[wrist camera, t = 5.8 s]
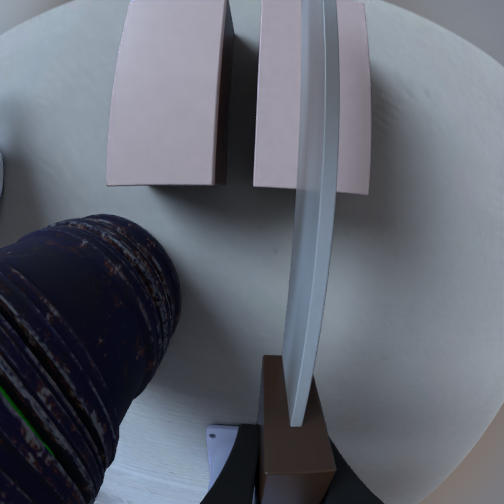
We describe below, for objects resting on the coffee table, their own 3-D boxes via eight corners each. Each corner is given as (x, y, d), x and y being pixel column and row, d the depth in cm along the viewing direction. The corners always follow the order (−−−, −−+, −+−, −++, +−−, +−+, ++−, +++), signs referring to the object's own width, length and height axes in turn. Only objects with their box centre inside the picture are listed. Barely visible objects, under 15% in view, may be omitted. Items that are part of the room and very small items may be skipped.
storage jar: (73, 356, 18) (-41, 494, 4) (36, 225, 16) (-150, 299, 2) (198, 358, 18) (130, 589, 3) (168, 199, 16) (-124, 301, 1)
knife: (288, 457, 11) (295, 546, 6) (253, 456, 11) (251, 547, 6) (326, -31, 7) (358, -120, 2) (281, -36, 7) (292, -132, 2)
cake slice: (338, 191, 15) (369, 195, 11) (254, 185, 15) (253, 186, 11) (340, 41, 13) (364, 2, 9) (261, 32, 13) (261, -12, 9)
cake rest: (225, 184, 15) (212, 185, 11) (145, 183, 15) (105, 186, 11) (234, 32, 13) (226, -12, 9) (157, 37, 13) (129, 0, 9)
